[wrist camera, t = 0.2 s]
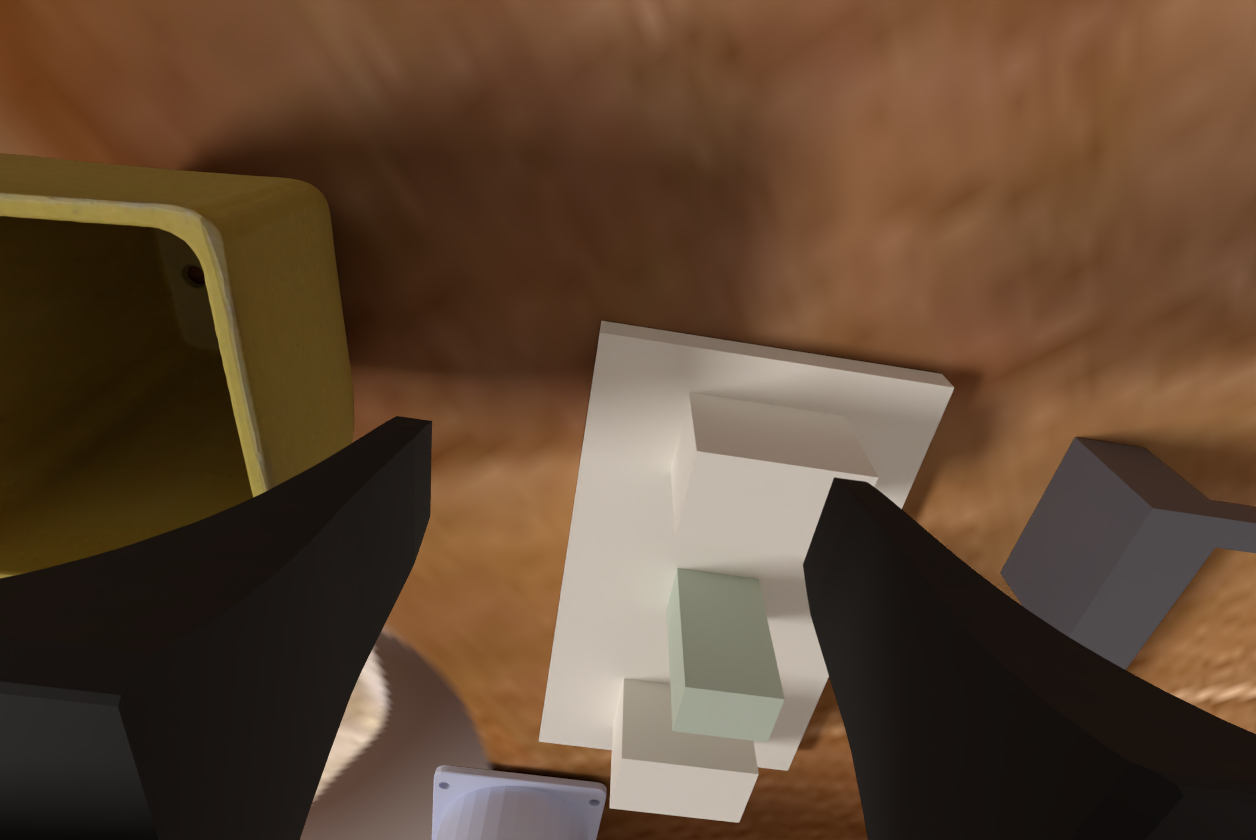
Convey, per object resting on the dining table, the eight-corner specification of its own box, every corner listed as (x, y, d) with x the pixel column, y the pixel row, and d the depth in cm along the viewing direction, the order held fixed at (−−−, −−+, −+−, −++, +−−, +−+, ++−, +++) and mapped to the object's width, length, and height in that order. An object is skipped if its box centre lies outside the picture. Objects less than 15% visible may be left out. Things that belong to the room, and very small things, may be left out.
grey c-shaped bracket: (1086, 764, 31) (1143, 855, 28) (906, 742, 31) (941, 832, 27) (1309, 473, 24) (1426, 548, 20) (1075, 437, 23) (1153, 508, 19)
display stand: (783, 750, 31) (813, 900, 26) (541, 721, 30) (519, 869, 25) (942, 374, 22) (1041, 483, 16) (601, 320, 21) (587, 416, 16)
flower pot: (412, 419, 23) (293, 614, 15) (149, 399, 23) (-110, 586, 15) (389, 140, 19) (208, 210, 11) (65, 111, 19) (-355, 161, 11)
